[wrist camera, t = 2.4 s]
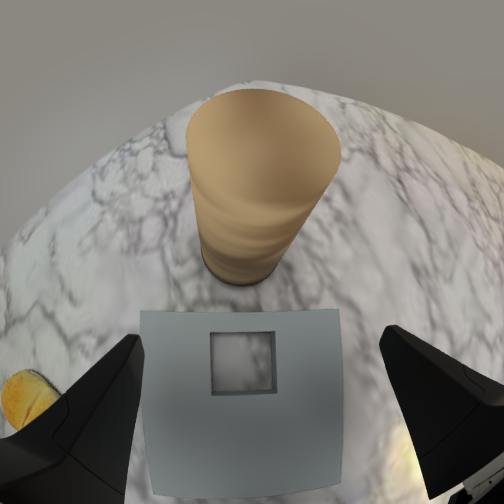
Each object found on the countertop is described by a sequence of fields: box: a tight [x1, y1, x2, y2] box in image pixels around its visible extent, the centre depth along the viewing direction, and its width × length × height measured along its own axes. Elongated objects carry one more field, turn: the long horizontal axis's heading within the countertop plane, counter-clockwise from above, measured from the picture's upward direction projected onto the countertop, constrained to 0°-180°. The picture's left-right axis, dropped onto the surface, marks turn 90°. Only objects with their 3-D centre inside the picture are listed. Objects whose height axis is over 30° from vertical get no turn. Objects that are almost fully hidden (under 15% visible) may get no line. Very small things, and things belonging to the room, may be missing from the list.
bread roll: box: [1, 369, 60, 431], centre depth 15 cm, size 8×9×4 cm
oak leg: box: [186, 89, 341, 286], centre depth 17 cm, size 6×6×15 cm
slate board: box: [140, 309, 343, 499], centre depth 19 cm, size 16×16×2 cm
